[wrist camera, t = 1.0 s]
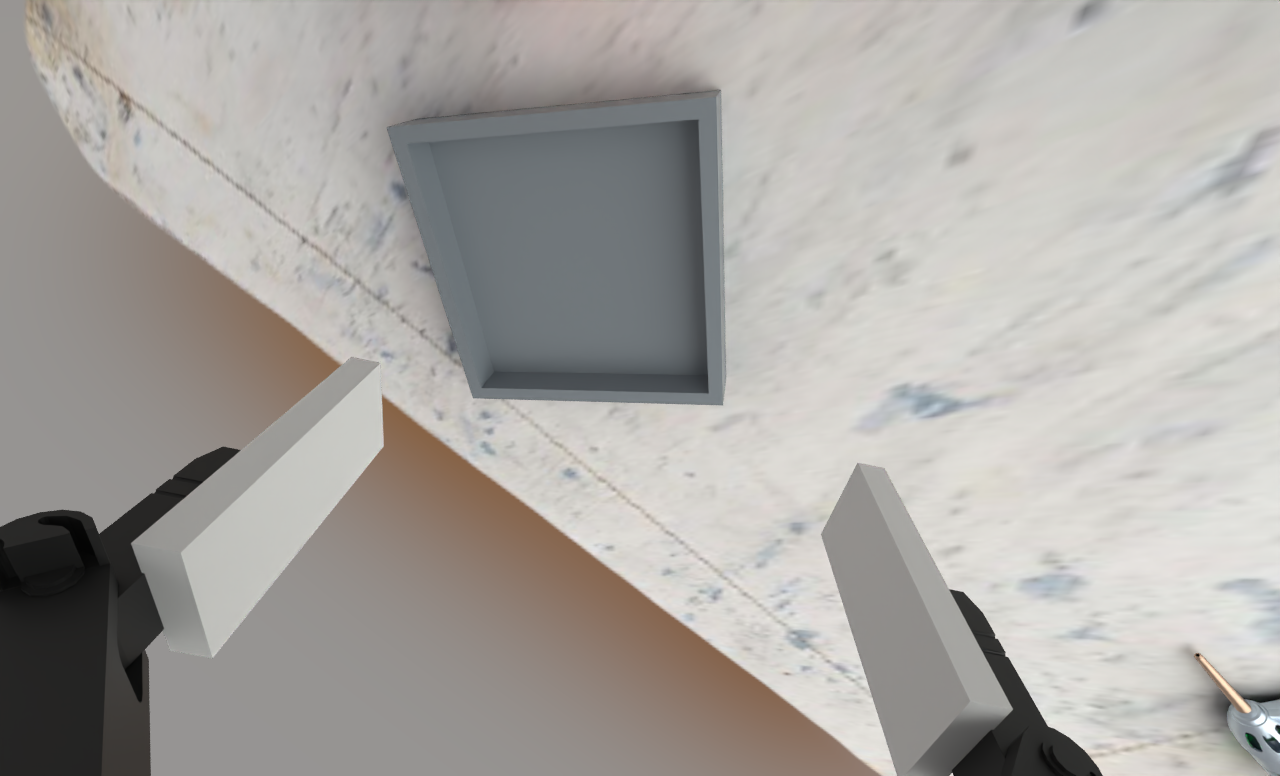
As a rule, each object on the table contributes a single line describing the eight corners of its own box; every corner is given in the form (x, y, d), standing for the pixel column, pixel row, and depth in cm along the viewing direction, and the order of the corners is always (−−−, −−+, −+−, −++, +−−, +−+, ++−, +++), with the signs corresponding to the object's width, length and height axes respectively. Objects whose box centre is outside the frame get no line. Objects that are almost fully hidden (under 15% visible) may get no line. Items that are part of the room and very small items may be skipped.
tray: (720, 90, 32) (716, 96, 29) (725, 379, 43) (722, 405, 40) (416, 118, 36) (386, 127, 33) (491, 375, 47) (473, 398, 44)
